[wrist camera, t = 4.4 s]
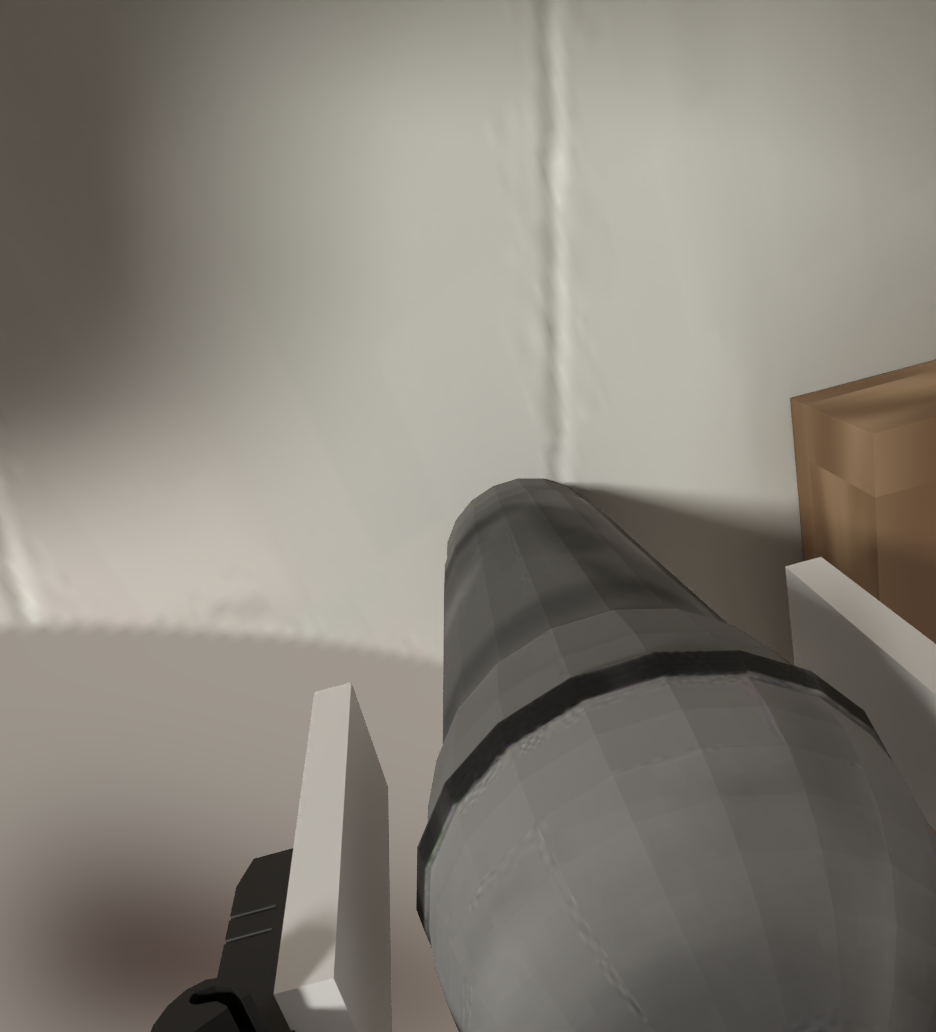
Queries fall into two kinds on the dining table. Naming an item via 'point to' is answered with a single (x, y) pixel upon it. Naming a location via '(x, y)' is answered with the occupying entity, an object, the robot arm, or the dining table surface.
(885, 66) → the dining table surface
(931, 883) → the beverage cup
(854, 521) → the u rest
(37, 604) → the dining table surface
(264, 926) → the robot arm
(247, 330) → the dining table surface
